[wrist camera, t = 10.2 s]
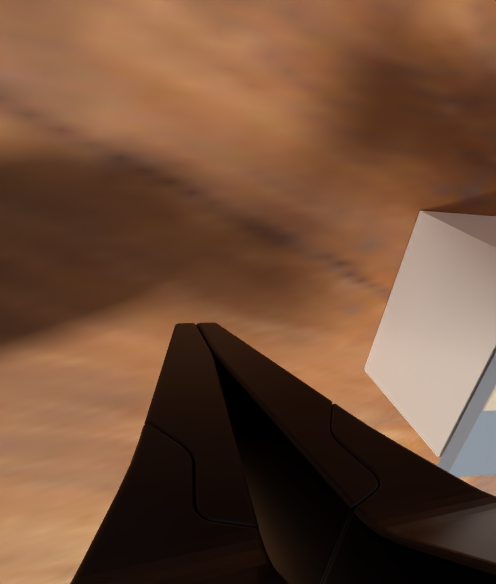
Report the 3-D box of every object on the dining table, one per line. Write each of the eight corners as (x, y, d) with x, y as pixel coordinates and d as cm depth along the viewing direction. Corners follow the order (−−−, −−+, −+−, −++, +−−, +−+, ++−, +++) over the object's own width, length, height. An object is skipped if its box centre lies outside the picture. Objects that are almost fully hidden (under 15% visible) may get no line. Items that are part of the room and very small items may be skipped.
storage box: (363, 369, 31) (437, 457, 24) (420, 210, 25) (535, 267, 19) (449, 362, 33) (536, 439, 27) (516, 217, 28) (646, 269, 21)
